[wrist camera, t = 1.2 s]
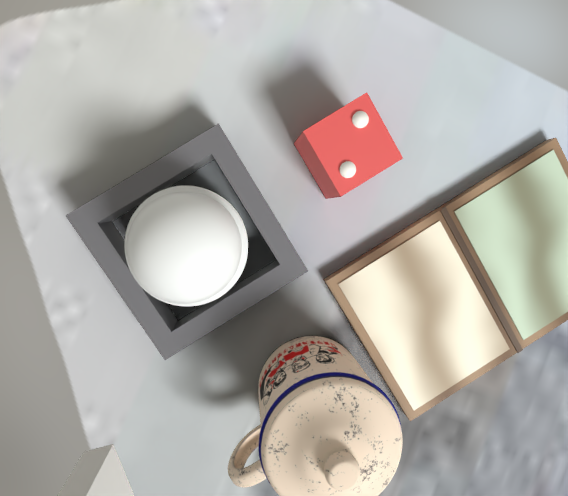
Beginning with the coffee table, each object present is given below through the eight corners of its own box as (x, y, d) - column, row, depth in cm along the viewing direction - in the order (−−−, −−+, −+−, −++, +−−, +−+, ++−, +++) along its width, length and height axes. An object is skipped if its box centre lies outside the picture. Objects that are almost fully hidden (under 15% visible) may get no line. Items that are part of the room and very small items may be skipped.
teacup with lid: (329, 311, 33) (375, 365, 21) (381, 400, 34) (451, 496, 23) (203, 387, 33) (180, 484, 21) (260, 474, 34) (269, 612, 22)
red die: (325, 198, 32) (341, 196, 27) (293, 143, 31) (303, 130, 26) (378, 166, 32) (403, 157, 27) (347, 110, 32) (367, 91, 26)
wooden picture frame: (405, 415, 35) (410, 422, 33) (323, 279, 33) (326, 281, 32) (615, 280, 35) (627, 282, 34) (546, 139, 33) (557, 137, 32)
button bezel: (172, 346, 32) (164, 360, 29) (83, 215, 30) (65, 215, 27) (302, 265, 32) (308, 271, 29) (220, 132, 31) (218, 123, 28)
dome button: (176, 316, 30) (155, 350, 23) (114, 225, 29) (72, 230, 22) (267, 260, 30) (275, 275, 23) (210, 167, 29) (199, 153, 22)
